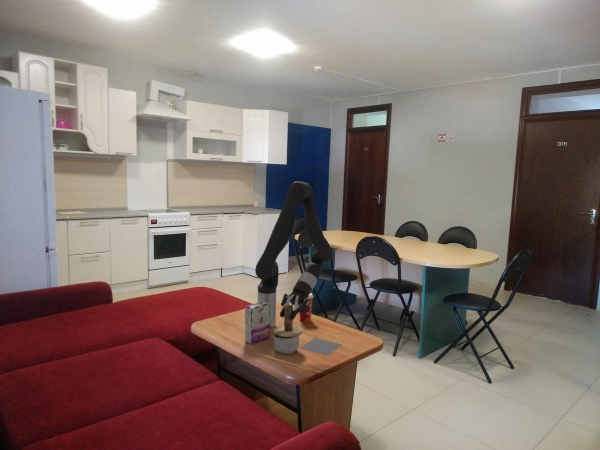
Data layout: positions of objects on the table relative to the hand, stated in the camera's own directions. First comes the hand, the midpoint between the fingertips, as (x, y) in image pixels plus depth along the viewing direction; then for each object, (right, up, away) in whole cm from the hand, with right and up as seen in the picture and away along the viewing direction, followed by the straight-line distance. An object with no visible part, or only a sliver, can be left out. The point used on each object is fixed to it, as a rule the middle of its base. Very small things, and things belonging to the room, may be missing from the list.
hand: (285, 317), depth 167 cm
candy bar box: (-13, -13, +14) cm, 23 cm away
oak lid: (+1, -7, +2) cm, 7 cm away
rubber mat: (+15, -14, +7) cm, 22 cm away
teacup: (+1, -15, +3) cm, 15 cm away
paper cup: (+9, -11, +42) cm, 45 cm away
